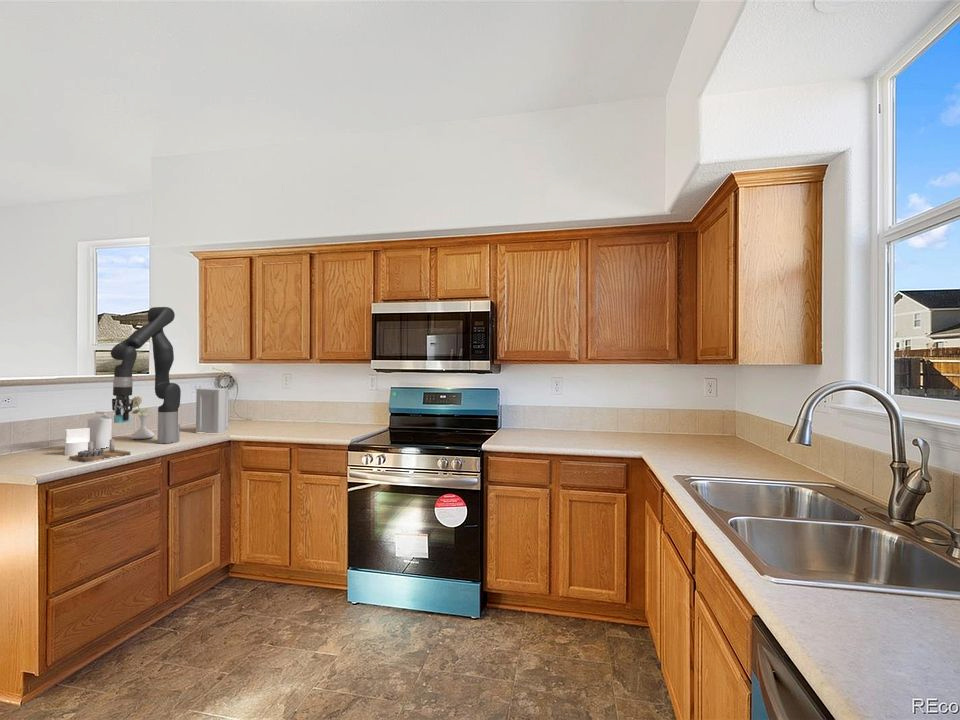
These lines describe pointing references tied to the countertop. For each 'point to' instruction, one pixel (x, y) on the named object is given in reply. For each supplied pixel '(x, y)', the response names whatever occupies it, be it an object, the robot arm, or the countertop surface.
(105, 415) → the milk carton
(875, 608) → the countertop surface
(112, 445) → the gear board
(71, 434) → the base with upright slab
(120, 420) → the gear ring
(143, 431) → the flower in vase
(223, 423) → the grey box
